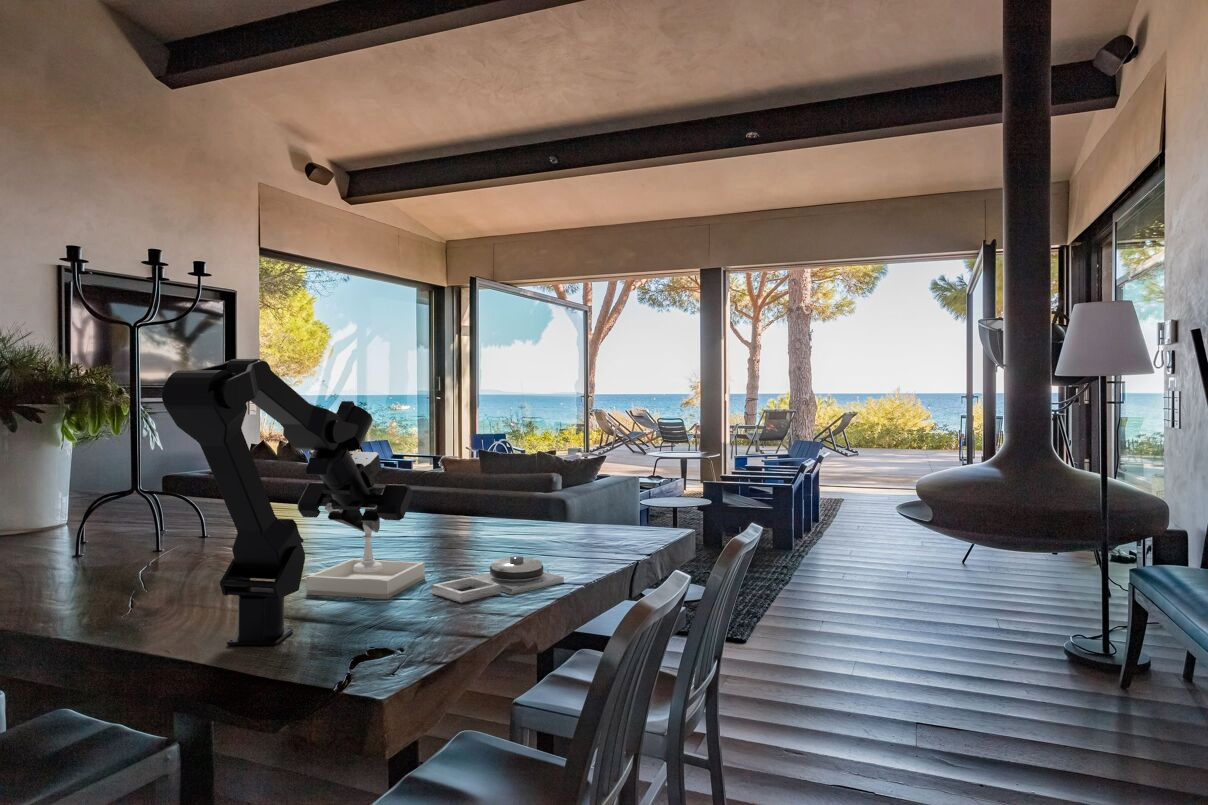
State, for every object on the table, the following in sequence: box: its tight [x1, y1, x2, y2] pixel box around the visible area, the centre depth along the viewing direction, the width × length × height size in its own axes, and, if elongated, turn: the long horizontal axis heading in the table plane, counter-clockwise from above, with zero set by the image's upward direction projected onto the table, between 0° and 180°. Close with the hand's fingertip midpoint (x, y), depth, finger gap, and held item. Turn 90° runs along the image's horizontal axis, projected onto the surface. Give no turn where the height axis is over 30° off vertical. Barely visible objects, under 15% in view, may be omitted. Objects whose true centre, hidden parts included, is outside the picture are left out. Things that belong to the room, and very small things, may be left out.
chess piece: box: [353, 523, 383, 572], centre depth 130 cm, size 5×5×10 cm
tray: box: [305, 558, 426, 600], centre depth 130 cm, size 15×15×3 cm
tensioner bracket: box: [431, 555, 565, 604], centre depth 130 cm, size 21×12×4 cm, turn 136°
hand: (371, 530), depth 131 cm, fingers closed on chess piece
